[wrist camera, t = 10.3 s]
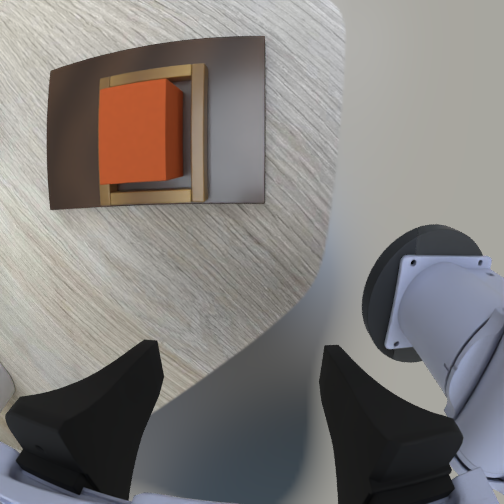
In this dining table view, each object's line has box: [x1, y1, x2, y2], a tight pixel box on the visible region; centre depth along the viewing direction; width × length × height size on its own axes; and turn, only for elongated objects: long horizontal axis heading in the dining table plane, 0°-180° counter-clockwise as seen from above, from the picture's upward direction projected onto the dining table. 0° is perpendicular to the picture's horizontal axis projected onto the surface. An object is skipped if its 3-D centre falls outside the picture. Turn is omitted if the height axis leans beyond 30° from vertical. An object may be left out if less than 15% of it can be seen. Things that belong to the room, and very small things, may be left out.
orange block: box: [99, 78, 183, 185], centre depth 16 cm, size 4×6×4 cm
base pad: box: [47, 36, 265, 210], centre depth 17 cm, size 16×11×2 cm
